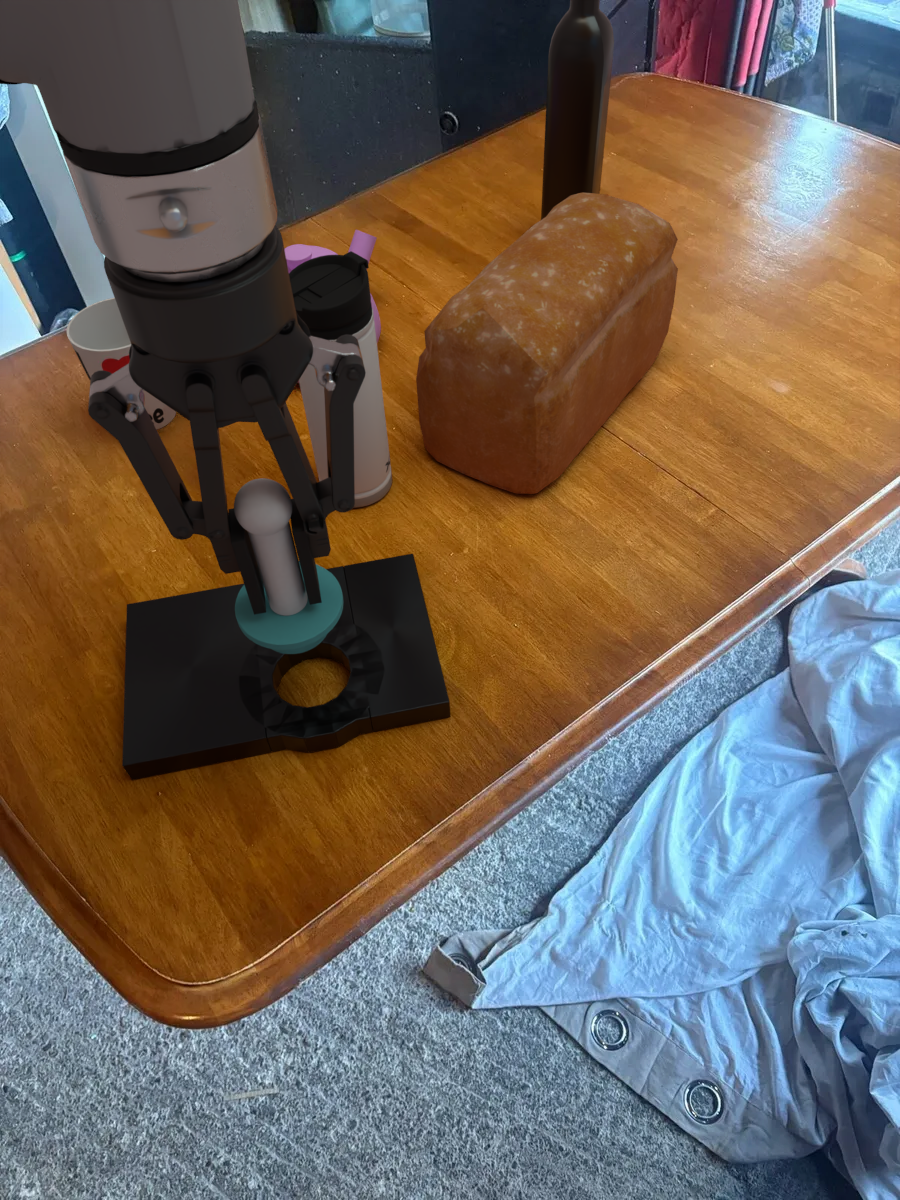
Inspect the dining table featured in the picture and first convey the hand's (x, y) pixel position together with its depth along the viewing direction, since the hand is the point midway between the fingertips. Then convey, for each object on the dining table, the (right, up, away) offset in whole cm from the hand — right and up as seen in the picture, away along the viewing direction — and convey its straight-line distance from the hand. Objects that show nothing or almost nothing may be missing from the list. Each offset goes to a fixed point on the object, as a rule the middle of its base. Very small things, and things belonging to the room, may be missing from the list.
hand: (285, 591), depth 56 cm
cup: (-18, +17, +29) cm, 38 cm away
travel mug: (+2, +10, +22) cm, 24 cm away
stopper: (0, -2, +3) cm, 4 cm away
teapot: (-3, +25, +35) cm, 43 cm away
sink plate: (-2, -5, +10) cm, 11 cm away
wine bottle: (+24, +41, +46) cm, 66 cm away
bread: (+19, +18, +28) cm, 39 cm away
